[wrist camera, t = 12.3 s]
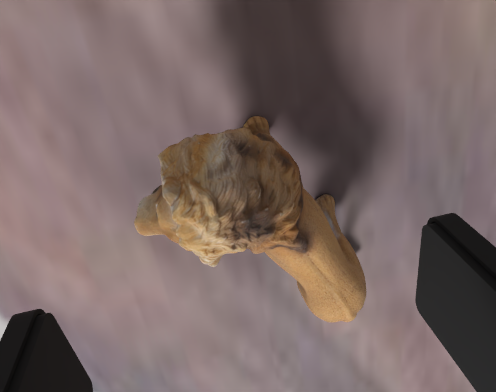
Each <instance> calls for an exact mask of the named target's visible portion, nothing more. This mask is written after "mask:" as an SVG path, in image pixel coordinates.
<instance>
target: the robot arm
mask: <svg viewBox="0 0 496 392" xmlns="http://www.w3.org/2000/svg"><path fill="white" fill-rule="evenodd" d="M416 306H417V309H418V311H419V313H420V314H421V316H422V317H423V318H424V320H425V321H426V323H427V324H428V325H429V327H430V328H431V329H432V331H433V332H434V334H435V335H436V336H437V338H438V339H439V340H440V342H441V343H442V345H443V346H444V347H445V349H446V350H447V351H448V353H449V354H450V356H451V357H452V358H453V360H454V361H455V362H456V364H457V365H458V367H459V368H460V369H461V371H462V372H463V373H464V375H465V376H466V378H467V379H468V380H469V382H470V383H471V384H472V386H473V387H474V389H475V390H476V391H477V392H496V247H495V246H493V245H492V244H491V243H490V242H489V241H487V240H486V239H485V238H484V237H483V236H482V235H480V234H479V233H478V232H477V231H476V230H475V229H473V228H472V227H471V226H470V225H469V224H468V223H466V222H465V221H464V220H463V219H462V218H460V217H459V216H458V215H456V214H455V213H450V214H445V215H441V216H437V217H432V218H430V219H429V220H428V223H427V225H424V226H423V229H422V237H421V247H420V258H419V268H418V279H417V289H416ZM0 392H93V387H92V382H91V380H90V378H89V376H88V374H87V373H86V371H85V369H84V368H83V366H82V364H81V362H80V361H79V359H78V357H77V355H76V354H75V352H74V350H73V349H72V347H71V345H70V343H69V342H68V340H67V338H66V337H65V335H64V333H63V331H62V330H61V328H60V326H59V325H58V323H57V321H56V319H55V318H54V316H53V315H52V314H51V313H45V312H44V311H43V310H42V309H36V310H32V311H27V312H23V313H19V314H15V315H13V316H12V317H11V319H10V321H9V323H8V325H7V327H6V330H5V332H4V334H3V336H2V338H1V341H0Z"/></svg>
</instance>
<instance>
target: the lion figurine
mask: <svg viewBox="0 0 496 392" xmlns="http://www.w3.org/2000/svg"><path fill="white" fill-rule="evenodd" d="M158 158H159V160H160V164H161V179H162V185H160V186H159V187H158V188H156V189H155V190H154V191H153V193H152V194H151V195H149V196H147V197H145V198H143V199H142V200H141V201H140V203H139V206H138V209H137V217H136V219H135V221H134V223H135V228H136V230H137V231H138V233H140V234H142V235H144V236H151V235H156V234H164V235H166V236H167V237H168V238H169V239H170V240H172V241H174V242H176V243H179V245H180V246H182V247H183V248H184V249H185V250H188V251H193V252H194V254H196V255H197V256H199V258H200V260H201V262H202V263H204V264H208V265H209V266H212V267H215V266H216V265H217V264H218V262H219V260H220V259H221V257H222V255H223V254H226V253H237V252H243V251H245V250H246V249H247V248H248V249H250V250H251V251H252V252H253V253H254V254H259V253H262V252H265V253H266V254H267V255H268V256H269V257H270V258H271V259H272V260H273V261H274V262H276V263H277V264H278V265H279V266H280V267H281V268H282V269H284V270H285V271H287V272H288V273H289V274H290V275H292V276H293V277H294V278H295V279H296V280H297V285H298V288H299V290H300V292H301V295H302V296H303V298H304V300H305V302H306V304H307V306H308V307H309V309H310V310H311V311H312V313H314V314H315V315H316V316H317V317H319V318H320V319H322V320H324V321H327V322H337V321H345V322H350V321H352V320H353V319H354V318H355V317H356V315H357V312H358V311H359V310H360V309H361V308H362V306H363V304H364V301H365V298H366V283H365V276H364V273H363V270H362V268H361V265H360V262H359V260H358V258H357V256H356V253H355V252H354V250H353V248H352V246H351V245H350V243H349V241H348V240H347V239H346V237H345V236H344V235H343V234H342V233H341V230H340V228H339V225H338V223H337V220H336V216H335V201H334V199H333V197H332V196H331V195H327V194H324V195H322V196H320V197H319V198H317V199H316V200H314V199H313V197H312V196H311V195H310V194H309V193H308V192H307V191H306V190H305V189H303V185H302V182H301V176H300V171H299V167H298V165H297V163H296V162H295V161H294V159H293V158H292V157H291V155H290V154H289V153H288V152H287V151H286V150H284V149H283V148H282V146H281V145H280V144H279V143H278V142H277V141H276V140H275V139H274V138H273V137H272V136H270V133H269V125H268V121H267V120H266V119H265V118H264V117H260V116H254V117H251V118H249V119H248V120H247V122H246V123H245V124H244V126H243V128H239V129H234V130H226V131H225V132H222V133H218V134H209V133H207V134H204V135H194V136H193V137H192V138H190V137H188V138H185V139H183V140H182V141H181V142H179V143H178V144H174V145H171V146H169V147H168V148H166V149H165V150H164V151H163V152H162V153H160V154H159V155H158Z"/></svg>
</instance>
